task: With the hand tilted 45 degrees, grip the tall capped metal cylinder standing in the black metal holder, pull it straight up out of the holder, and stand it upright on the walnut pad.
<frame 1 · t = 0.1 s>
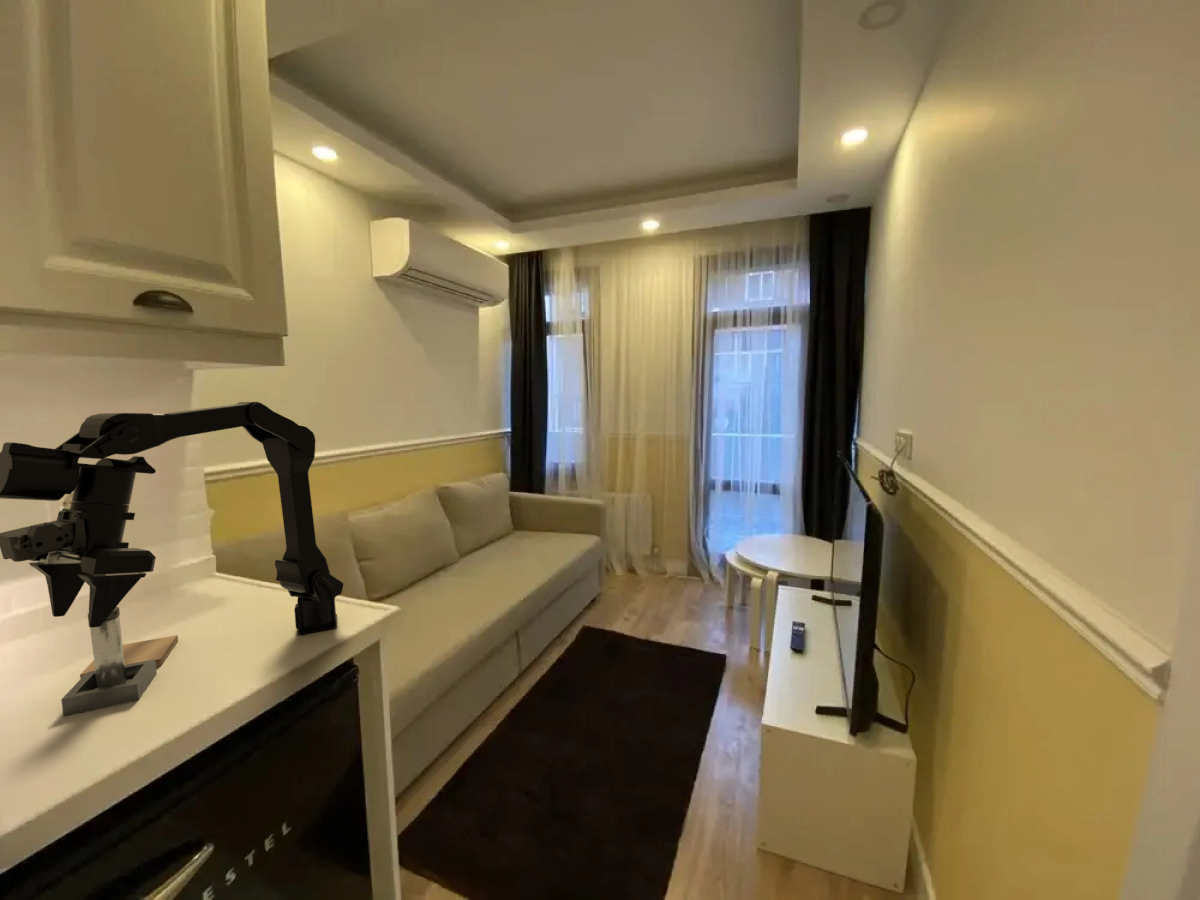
hand: (76, 621, 67), 15 cm above the worktop, tool pointing down, fingers open, 9 cm apart
capped metal cylinder: (108, 652, 76), in the key holder
key holder: (113, 693, 77), on the worktop
walnut pad: (133, 659, 87), on the worktop
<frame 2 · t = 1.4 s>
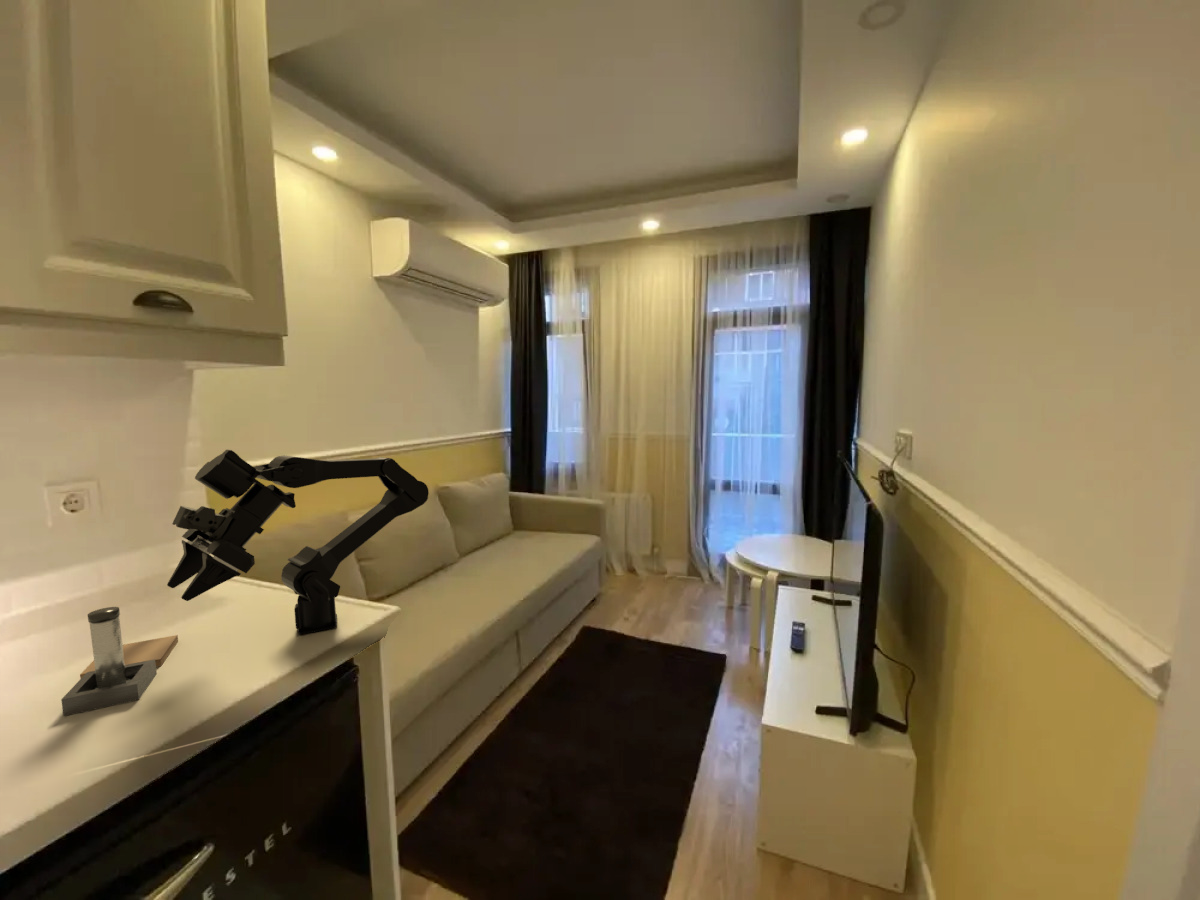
hand: (176, 593, 83), 13 cm above the worktop, tool tilted 45°, fingers open, 9 cm apart
nothing on the worktop moved.
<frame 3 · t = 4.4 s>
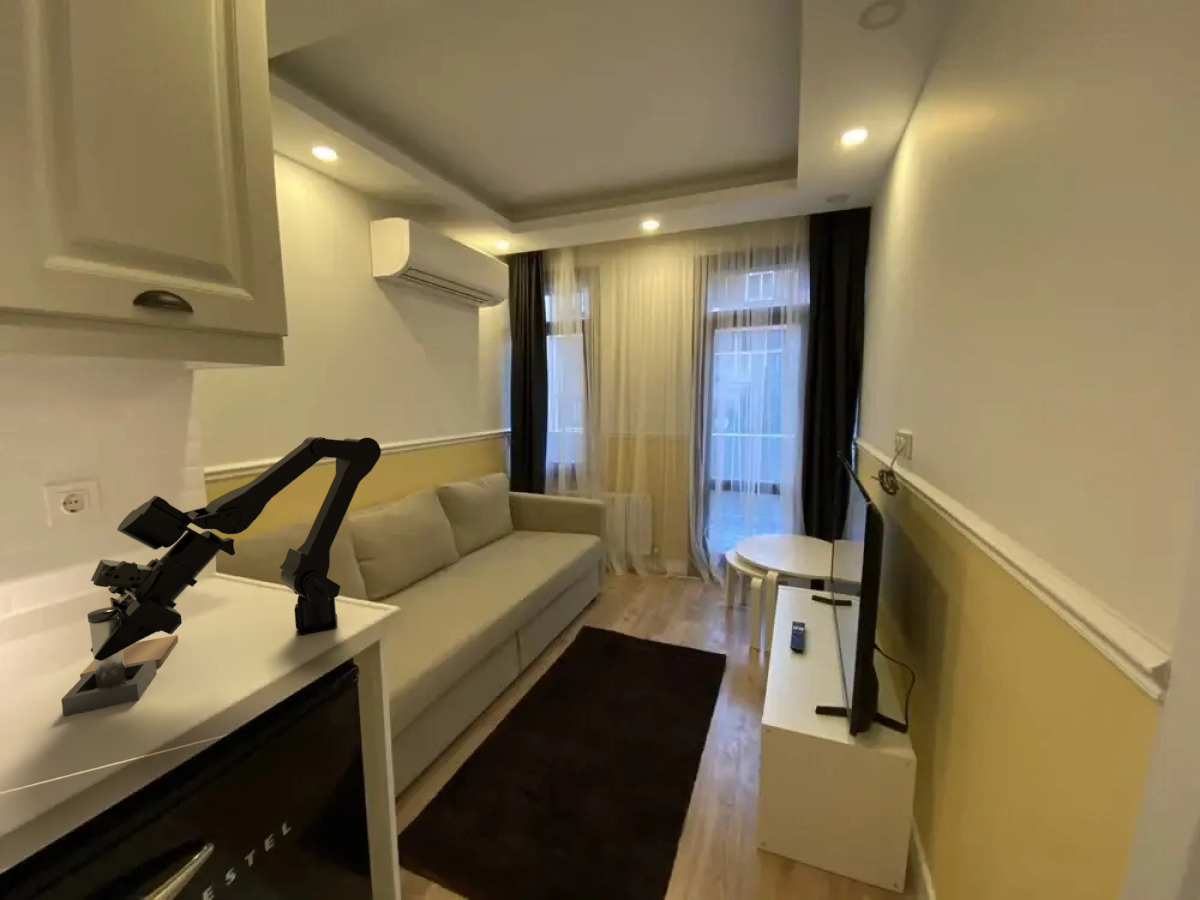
hand: (95, 655, 75), 7 cm above the worktop, tool tilted 45°, fingers closed on capped metal cylinder, 3 cm apart
capped metal cylinder: (108, 652, 76), in the key holder, touching gripper
when the fingers open (9 cm above the worktop, at t = 8.6 s): capped metal cylinder drops 1 cm, resting on walnut pad.
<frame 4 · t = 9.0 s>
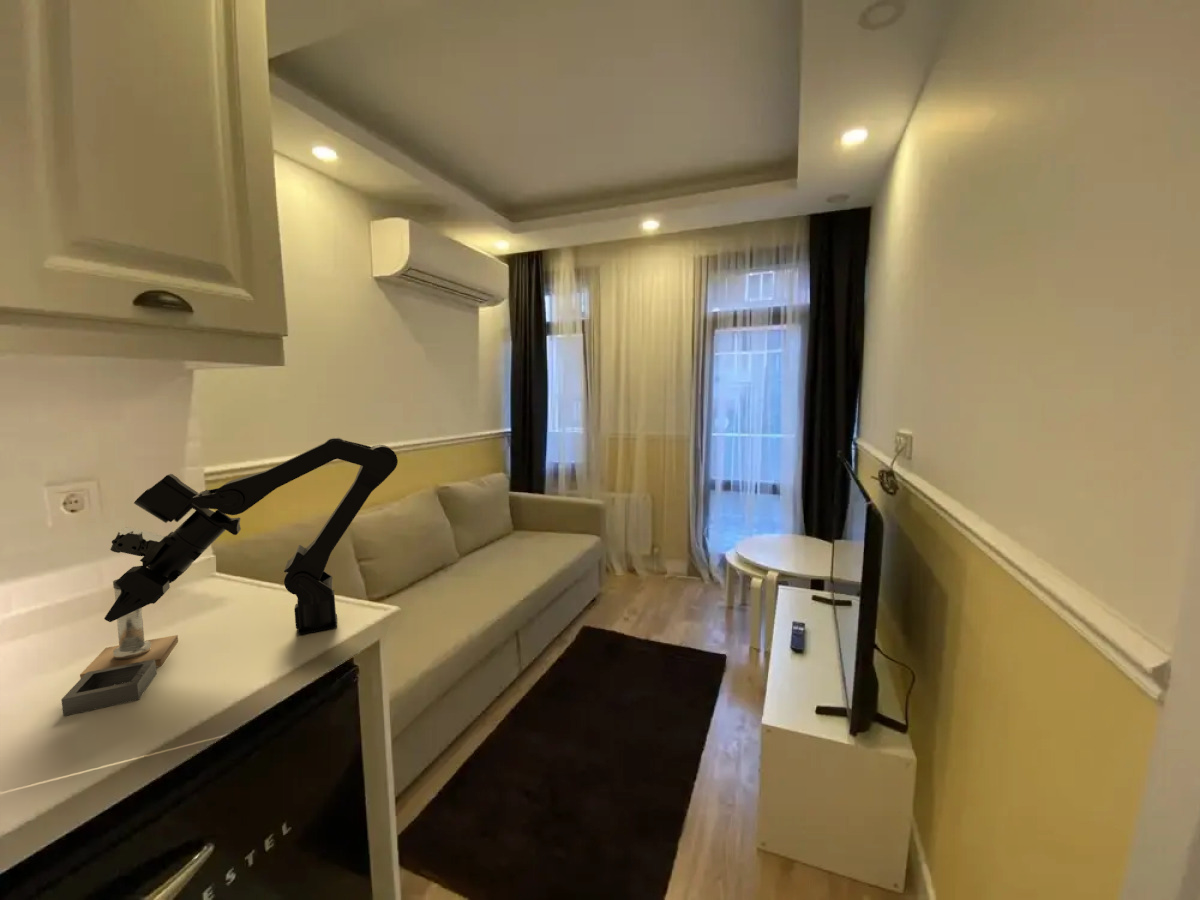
hand: (116, 611, 86), 9 cm above the worktop, tool tilted 45°, fingers open, 8 cm apart
capped metal cylinder: (129, 616, 87), on the walnut pad, point 8 cm above the worktop
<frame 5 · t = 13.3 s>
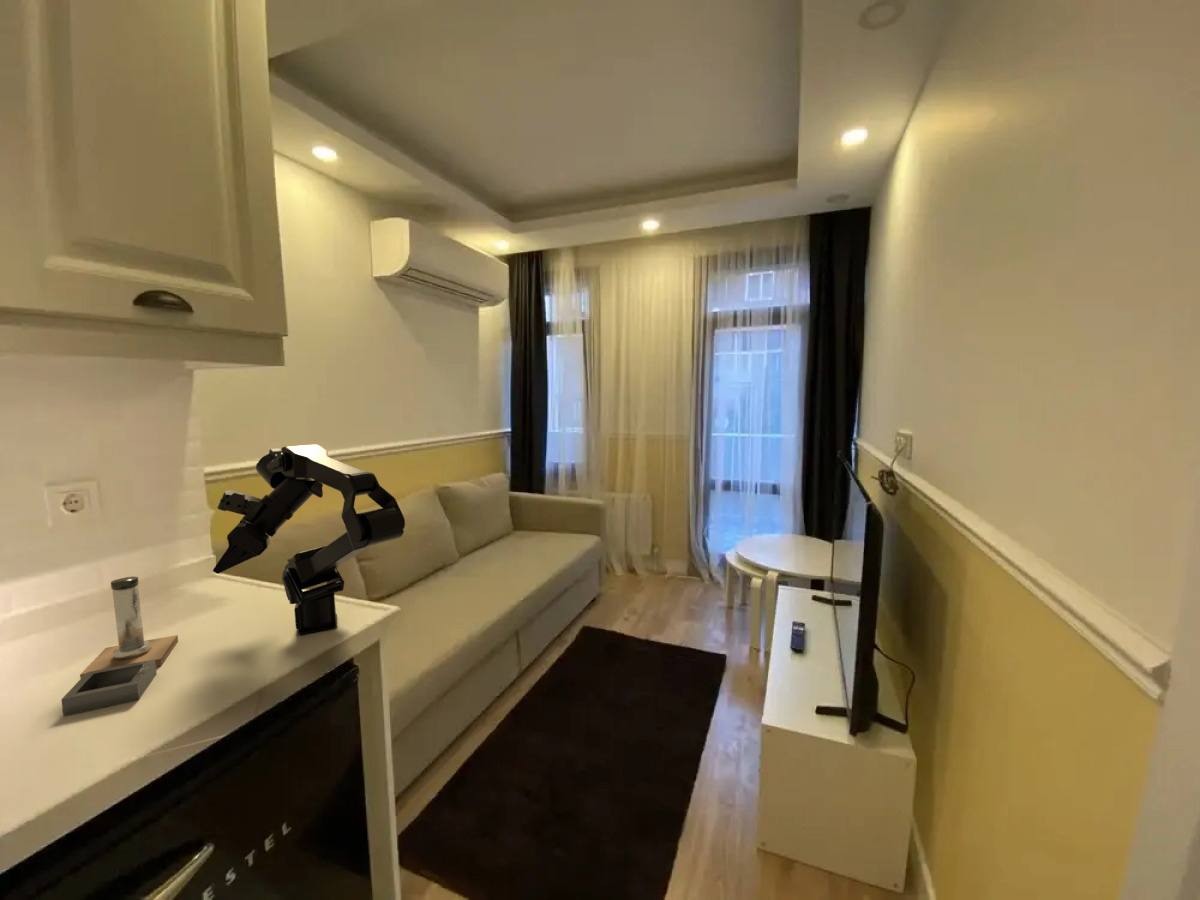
hand: (220, 564, 95), 14 cm above the worktop, tool tilted 45°, fingers open, 9 cm apart
nothing on the worktop moved.
at the end: capped metal cylinder inside the target area on the walnut pad (0.0 cm from its centre), point 7.7 cm above the walnut pad's base; capped metal cylinder tilted 0°; the gripper is holding nothing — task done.
